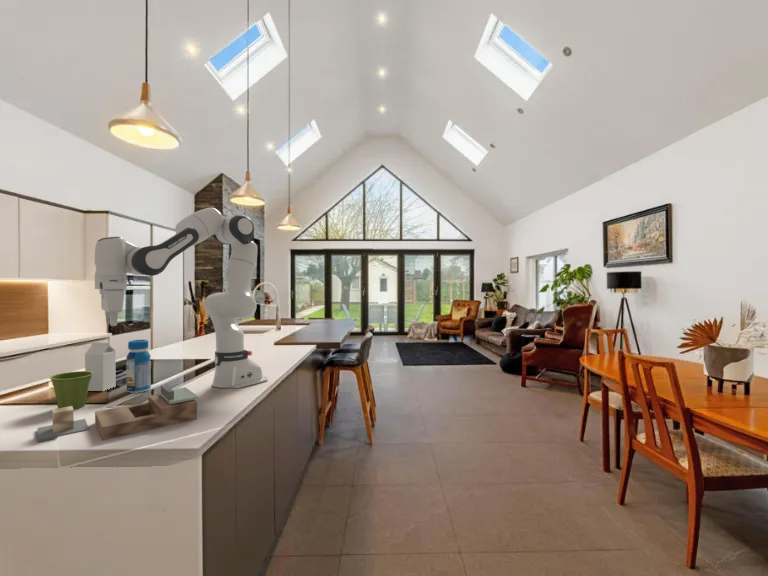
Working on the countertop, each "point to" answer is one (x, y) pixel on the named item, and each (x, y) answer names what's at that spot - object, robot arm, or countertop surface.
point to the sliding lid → (177, 394)
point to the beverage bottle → (138, 366)
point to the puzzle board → (143, 416)
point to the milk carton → (101, 366)
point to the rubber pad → (47, 431)
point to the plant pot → (71, 388)
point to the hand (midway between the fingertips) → (111, 324)
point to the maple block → (63, 419)
